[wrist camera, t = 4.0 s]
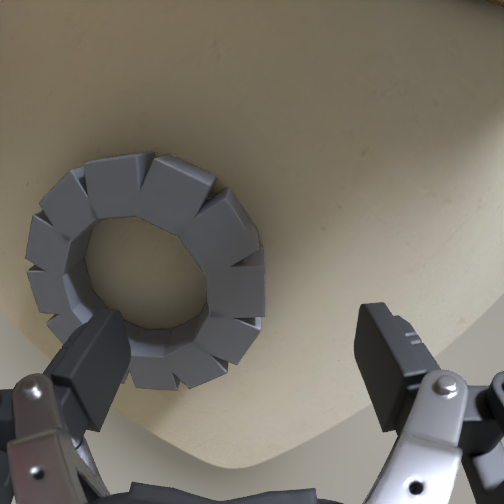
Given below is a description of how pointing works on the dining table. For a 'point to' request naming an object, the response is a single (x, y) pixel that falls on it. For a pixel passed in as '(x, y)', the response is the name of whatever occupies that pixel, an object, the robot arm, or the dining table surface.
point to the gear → (175, 222)
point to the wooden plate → (497, 2)
